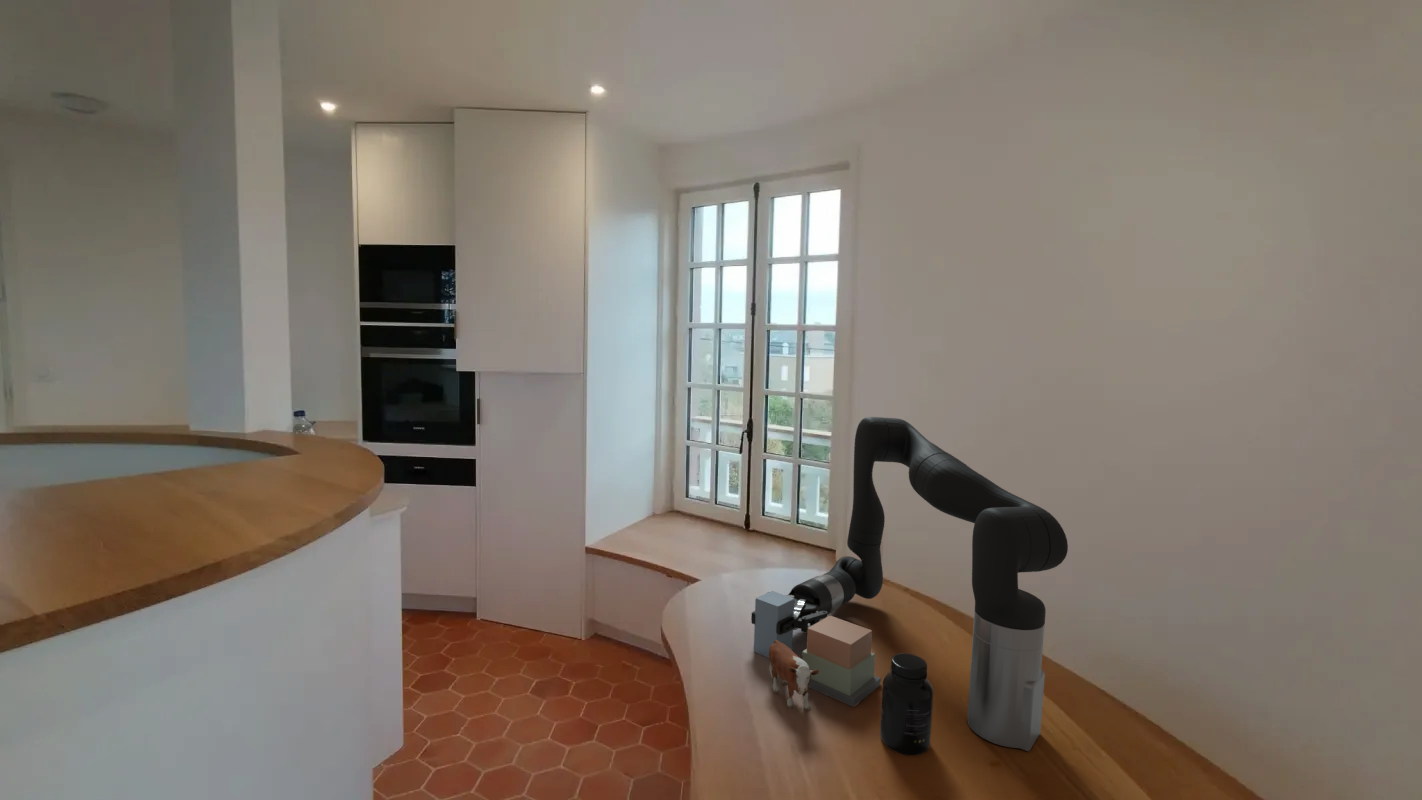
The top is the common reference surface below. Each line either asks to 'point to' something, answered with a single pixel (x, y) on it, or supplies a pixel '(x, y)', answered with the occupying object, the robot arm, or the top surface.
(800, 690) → the bull figurine
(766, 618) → the column brick
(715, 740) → the top surface
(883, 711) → the supplement bottle
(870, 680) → the brick tower
